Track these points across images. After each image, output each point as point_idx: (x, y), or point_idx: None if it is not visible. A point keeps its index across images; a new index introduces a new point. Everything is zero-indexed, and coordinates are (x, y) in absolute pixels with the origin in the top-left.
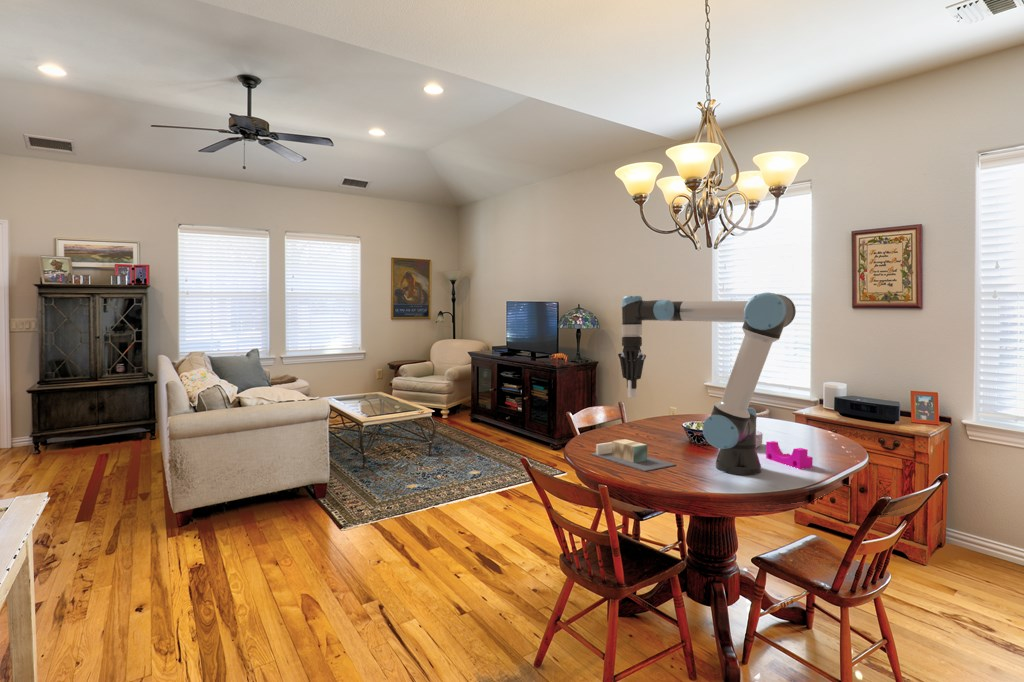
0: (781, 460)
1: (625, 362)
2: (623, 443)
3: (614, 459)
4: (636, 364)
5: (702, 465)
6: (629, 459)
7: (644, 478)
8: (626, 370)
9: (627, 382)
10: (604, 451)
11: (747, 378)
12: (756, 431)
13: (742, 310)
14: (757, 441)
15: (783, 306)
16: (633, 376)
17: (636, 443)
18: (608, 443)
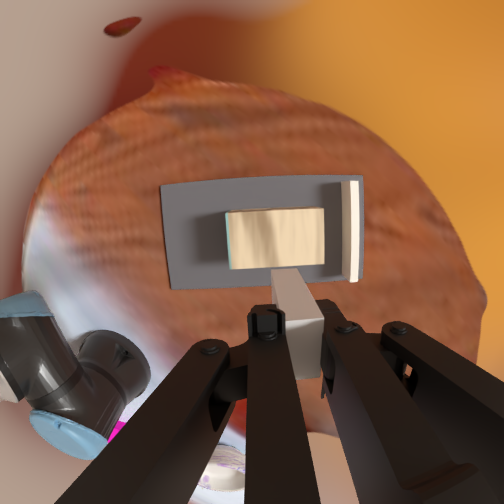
0: (119, 426)
1: (481, 462)
2: (277, 215)
3: (280, 186)
4: (136, 484)
5: (153, 335)
6: (245, 209)
7: (125, 152)
8: (387, 380)
9: (337, 320)
10: (344, 204)
11: None
12: (213, 488)
13: None
14: None
15: None
16: (249, 361)
17: (258, 251)
18: (351, 221)
